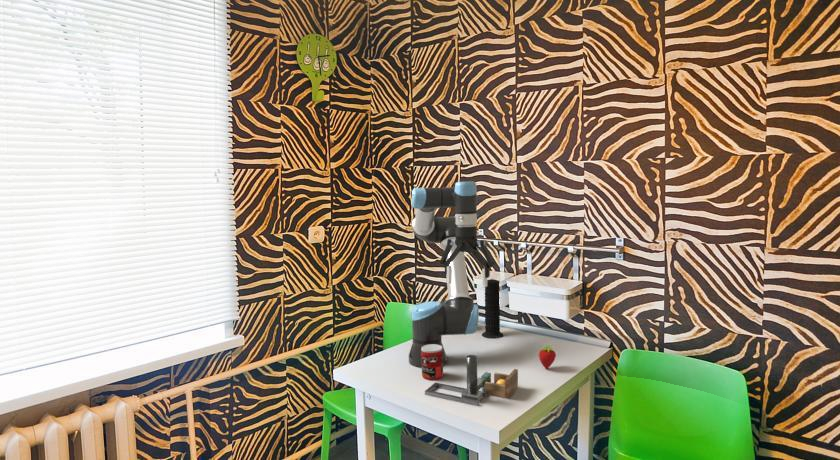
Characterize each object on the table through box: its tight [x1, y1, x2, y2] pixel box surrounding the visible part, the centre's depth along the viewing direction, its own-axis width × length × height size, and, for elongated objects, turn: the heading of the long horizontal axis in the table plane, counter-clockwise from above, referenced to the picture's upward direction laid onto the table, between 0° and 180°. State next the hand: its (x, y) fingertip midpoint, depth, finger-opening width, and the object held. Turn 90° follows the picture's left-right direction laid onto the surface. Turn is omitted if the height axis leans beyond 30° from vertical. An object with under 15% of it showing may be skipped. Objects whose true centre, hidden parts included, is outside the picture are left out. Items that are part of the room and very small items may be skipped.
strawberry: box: [538, 343, 557, 370], centre depth 184 cm, size 6×8×10 cm
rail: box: [424, 382, 488, 407], centre depth 164 cm, size 19×8×1 cm, turn 61°
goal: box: [484, 368, 519, 400], centre depth 166 cm, size 8×10×6 cm
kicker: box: [460, 354, 492, 402], centre depth 165 cm, size 6×14×14 cm, turn 151°
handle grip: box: [481, 278, 504, 339], centre depth 226 cm, size 10×26×10 cm
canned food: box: [421, 344, 444, 381], centre depth 180 cm, size 8×8×11 cm
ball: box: [496, 379, 505, 385], centre depth 166 cm, size 4×4×4 cm
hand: (466, 285), depth 173 cm, fingers open, 13 cm apart
